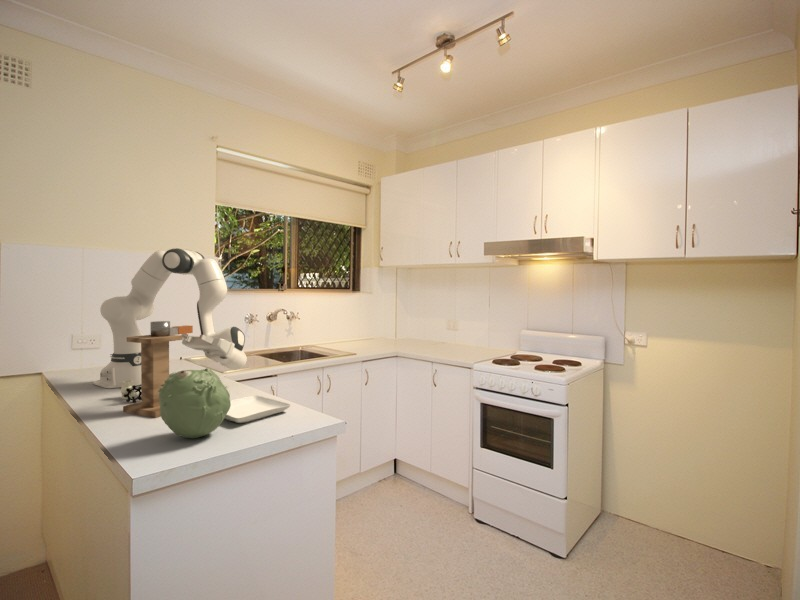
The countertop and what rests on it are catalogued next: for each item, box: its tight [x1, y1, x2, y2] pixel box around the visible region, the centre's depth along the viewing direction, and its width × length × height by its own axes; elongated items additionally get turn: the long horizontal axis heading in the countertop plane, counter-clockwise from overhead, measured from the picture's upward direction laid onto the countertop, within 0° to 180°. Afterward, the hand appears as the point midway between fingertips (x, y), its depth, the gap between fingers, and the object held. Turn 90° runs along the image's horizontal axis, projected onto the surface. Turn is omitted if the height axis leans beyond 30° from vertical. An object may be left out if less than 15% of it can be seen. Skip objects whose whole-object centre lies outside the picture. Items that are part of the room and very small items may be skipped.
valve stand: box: [122, 334, 183, 419], centre depth 143 cm, size 16×12×26 cm
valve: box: [120, 380, 141, 404], centre depth 156 cm, size 7×7×12 cm
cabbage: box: [158, 367, 231, 439], centre depth 118 cm, size 16×19×20 cm
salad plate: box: [224, 394, 292, 424], centre depth 141 cm, size 21×21×3 cm
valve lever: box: [150, 320, 194, 337], centre depth 149 cm, size 6×15×5 cm, turn 158°
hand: (191, 335), depth 157 cm, fingers open, 8 cm apart
